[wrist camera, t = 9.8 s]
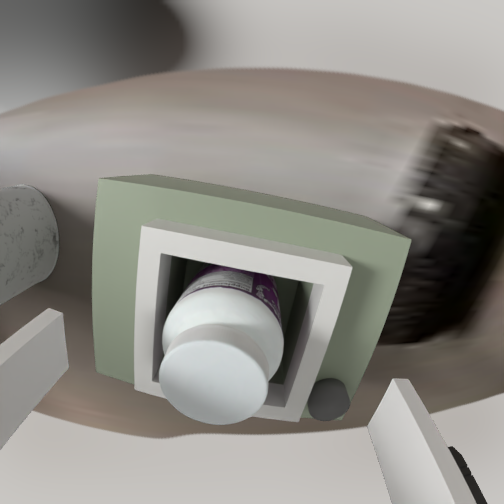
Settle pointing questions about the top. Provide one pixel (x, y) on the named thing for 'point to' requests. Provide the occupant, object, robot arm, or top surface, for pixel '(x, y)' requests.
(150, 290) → the green open box
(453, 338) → the top surface
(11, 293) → the speckled grey cylinder
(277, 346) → the pill bottle
